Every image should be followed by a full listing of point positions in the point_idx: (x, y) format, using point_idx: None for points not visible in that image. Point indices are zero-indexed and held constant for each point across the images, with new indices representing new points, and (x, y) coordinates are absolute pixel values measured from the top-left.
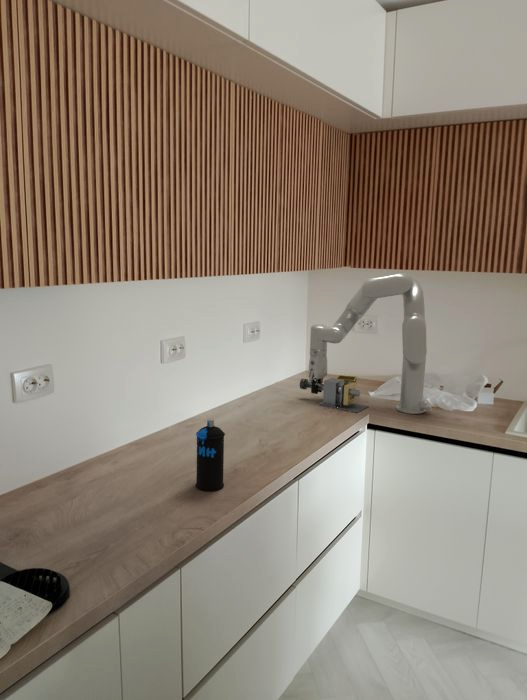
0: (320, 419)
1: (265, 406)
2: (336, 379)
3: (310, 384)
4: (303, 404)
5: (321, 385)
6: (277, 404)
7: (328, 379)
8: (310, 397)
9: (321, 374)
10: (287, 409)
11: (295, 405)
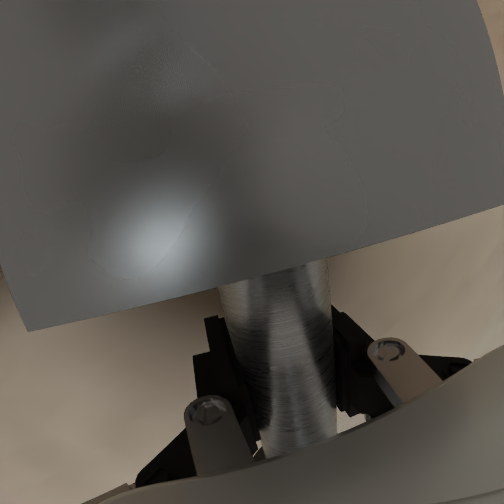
0: (492, 38)
1: (484, 346)
2: (98, 31)
3: (336, 429)
4: (384, 283)
5: (328, 307)
6: (448, 353)
7: (346, 229)
8: (189, 392)
9: (483, 446)
10: (489, 257)
11: (426, 293)
